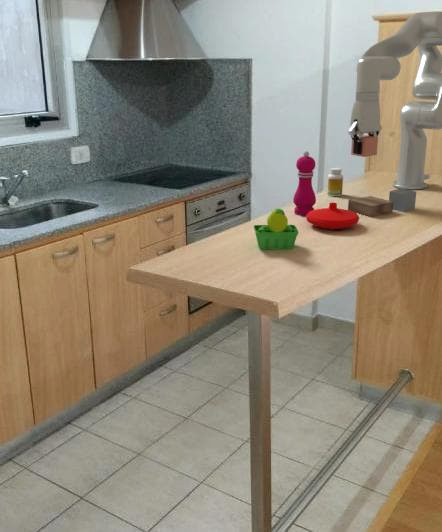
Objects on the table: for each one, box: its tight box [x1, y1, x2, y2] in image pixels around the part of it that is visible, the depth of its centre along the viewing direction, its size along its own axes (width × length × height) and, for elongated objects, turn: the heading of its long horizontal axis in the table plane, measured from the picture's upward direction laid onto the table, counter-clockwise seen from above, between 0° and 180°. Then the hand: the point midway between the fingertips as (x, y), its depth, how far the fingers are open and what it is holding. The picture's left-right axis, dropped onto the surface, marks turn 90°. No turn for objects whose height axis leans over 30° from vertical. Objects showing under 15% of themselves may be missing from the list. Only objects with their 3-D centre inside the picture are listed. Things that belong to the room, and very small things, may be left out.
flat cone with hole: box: [305, 201, 360, 230], centre depth 179 cm, size 16×16×7 cm
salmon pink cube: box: [350, 134, 379, 158], centre depth 202 cm, size 6×6×6 cm
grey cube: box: [388, 188, 417, 213], centre depth 198 cm, size 6×6×6 cm
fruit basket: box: [253, 208, 299, 250], centre depth 159 cm, size 11×9×11 cm
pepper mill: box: [292, 151, 317, 217], centre depth 191 cm, size 7×7×20 cm
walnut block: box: [347, 195, 394, 218], centre depth 195 cm, size 10×10×4 cm
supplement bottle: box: [326, 167, 344, 197], centre depth 217 cm, size 5×5×10 cm
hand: (364, 152), depth 203 cm, fingers closed on salmon pink cube, 6 cm apart
